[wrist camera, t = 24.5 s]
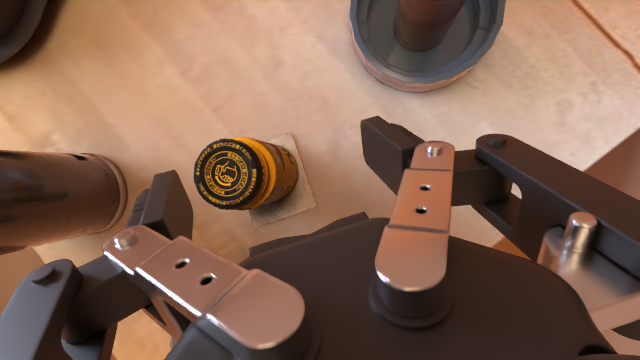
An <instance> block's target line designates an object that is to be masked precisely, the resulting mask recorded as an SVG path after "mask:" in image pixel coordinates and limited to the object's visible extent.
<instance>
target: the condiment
mask: <svg viewBox="0 0 640 360" xmlns="http://www.w3.org/2000/svg"><path fill="white" fill-rule="evenodd" d="M194 183H195V185H196V187H197V190H198V192H199V194H200V195H201V197H202V198H203V199H204V200H205V201H206V202H208V203H209V204H211V205H213V206H214V207H218V208H219V209H225V210H230V209H231V210H234V209H235V210H249V212H250V216H251V219H252V222H253V225H254V227H255V228H257V227H259V226H262V225H265V224H268V223H271V222H274V221H277V220H279V219H282V218H285V217H288V216H291V215H294V214H297V213H300V212H303V211H306V210H309V209H312V208H315V207H317V205H316V202H315V199H314V196H313V193H312V191H311V188H310V185H309V182H308V179H307V176H306V174H305V171H304V168H303V165H302V162H301V159H300V156H299V153H298V150H297V148H296V145H295V142H294V139H293V136H292V134H291V132H289V133H286V134H283V135H281V136H278V137H276V138H273V139H271V140H268V141H266V142H263V141H259V140H255V139H252V138H246V137H237V138H232V139H220V140H218V141H215V142H213V143H211V144H209V145H208V146H207V147H206V148H205V149H204V150H202V152H201V153H200V155H199V157H198V159H197V161H196V162H195V167H194Z"/></svg>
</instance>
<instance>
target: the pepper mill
mask: <svg viewBox="0 0 640 360" xmlns="http://www.w3.org/2000/svg"><path fill="white" fill-rule="evenodd" d="M465 2H466V0H398V4H397V9H396V14H395V20H394V34H395V37H396V39H397V41H398V42H399V44H400V45H401V46H402V47H404V48H405V49H407V50H409V51H413V52H425V51H429V50H431V49H433V48H435V47H436V46H437V45H439V44H440V43H441V41H442V40H443V39H444V37H445V35H446V34H447V32H448V30H449V29H450V27H451V25H452V24H453V22H454V20H455V19H456V17H457V15H458V14H459V12H460V10H461V9H462V7H463V5H464V4H465Z"/></svg>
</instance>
